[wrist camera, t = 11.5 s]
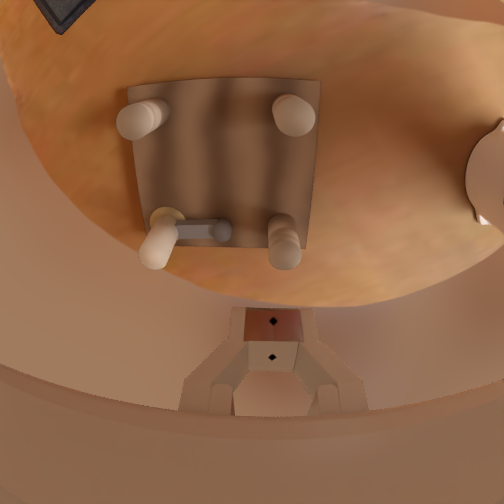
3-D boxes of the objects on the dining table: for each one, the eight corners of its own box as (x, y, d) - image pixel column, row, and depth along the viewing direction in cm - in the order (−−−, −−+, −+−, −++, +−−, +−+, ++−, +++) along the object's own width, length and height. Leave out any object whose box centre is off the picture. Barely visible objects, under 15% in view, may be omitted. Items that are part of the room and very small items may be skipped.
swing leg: (231, 213, 37) (226, 243, 31) (233, 237, 39) (228, 270, 33) (153, 215, 37) (134, 244, 32) (157, 238, 39) (141, 269, 34)
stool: (316, 80, 30) (336, 83, 22) (303, 237, 43) (312, 282, 34) (136, 85, 31) (98, 93, 22) (154, 234, 43) (132, 276, 35)
